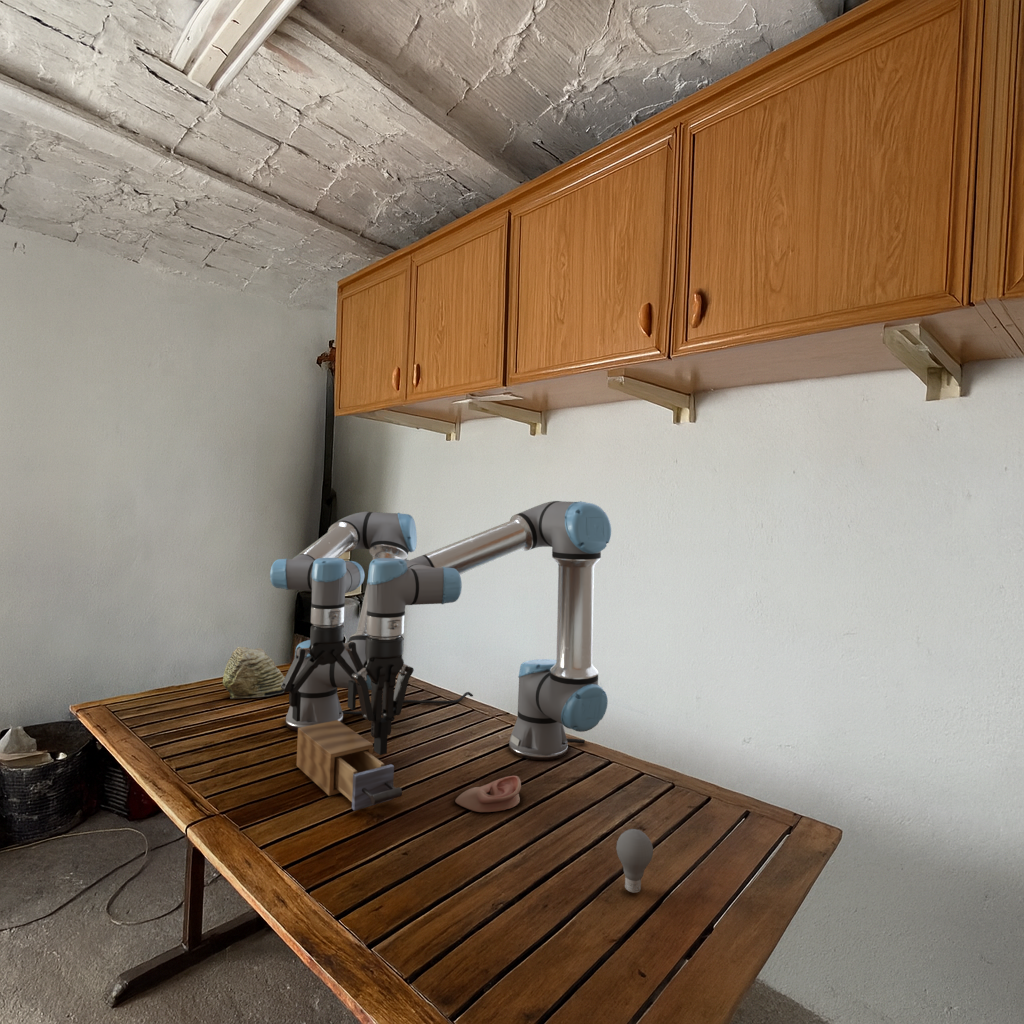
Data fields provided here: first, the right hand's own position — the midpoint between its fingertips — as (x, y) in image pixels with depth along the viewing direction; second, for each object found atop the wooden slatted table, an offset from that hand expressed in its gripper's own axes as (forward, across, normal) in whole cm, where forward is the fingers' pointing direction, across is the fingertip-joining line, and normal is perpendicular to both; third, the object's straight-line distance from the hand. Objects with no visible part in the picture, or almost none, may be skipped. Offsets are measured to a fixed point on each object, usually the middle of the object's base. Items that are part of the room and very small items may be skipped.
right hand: (380, 752), depth 128 cm
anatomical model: (+13, +22, -9) cm, 26 cm away
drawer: (+12, 0, +7) cm, 14 cm away
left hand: (0, 0, +28) cm, 28 cm away
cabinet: (+13, 0, +22) cm, 25 cm away
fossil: (+13, +4, +88) cm, 89 cm away
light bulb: (+13, +22, -47) cm, 54 cm away
